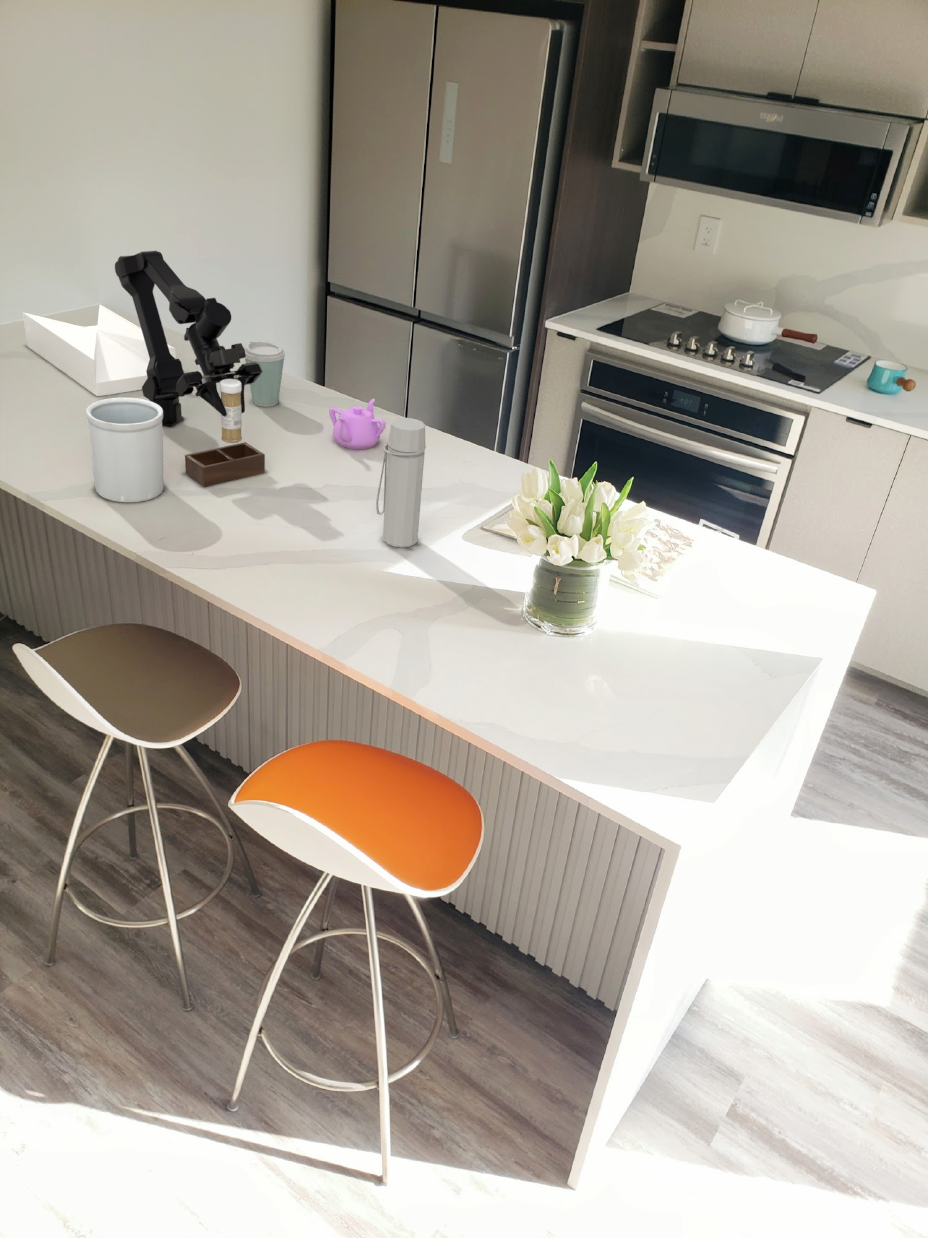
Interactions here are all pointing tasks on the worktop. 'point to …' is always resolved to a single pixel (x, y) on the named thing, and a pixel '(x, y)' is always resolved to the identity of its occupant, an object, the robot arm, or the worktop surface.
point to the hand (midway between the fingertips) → (234, 413)
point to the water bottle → (403, 482)
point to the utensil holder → (126, 448)
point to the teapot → (357, 427)
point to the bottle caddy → (224, 464)
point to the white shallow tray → (93, 351)
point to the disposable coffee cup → (266, 371)
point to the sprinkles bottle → (231, 410)
